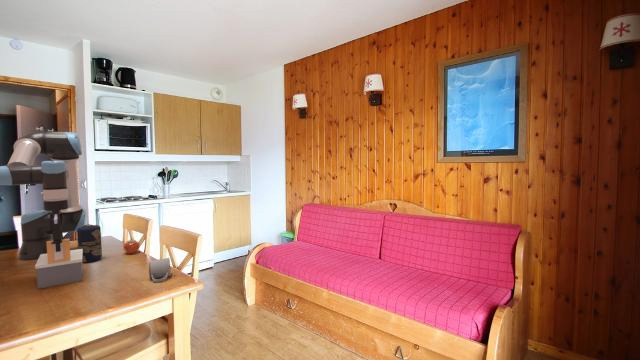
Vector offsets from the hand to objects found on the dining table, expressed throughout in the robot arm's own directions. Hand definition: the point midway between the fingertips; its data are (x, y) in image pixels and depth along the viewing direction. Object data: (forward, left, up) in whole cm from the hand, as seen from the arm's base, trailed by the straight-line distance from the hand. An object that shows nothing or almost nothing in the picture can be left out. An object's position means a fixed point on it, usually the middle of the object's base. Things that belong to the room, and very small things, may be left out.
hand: (59, 258), depth 130 cm
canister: (-30, +10, -11) cm, 33 cm away
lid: (-8, 0, -4) cm, 9 cm away
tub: (-8, 0, -11) cm, 13 cm away
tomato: (-32, +28, -11) cm, 44 cm away
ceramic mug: (+17, +34, -11) cm, 39 cm away
